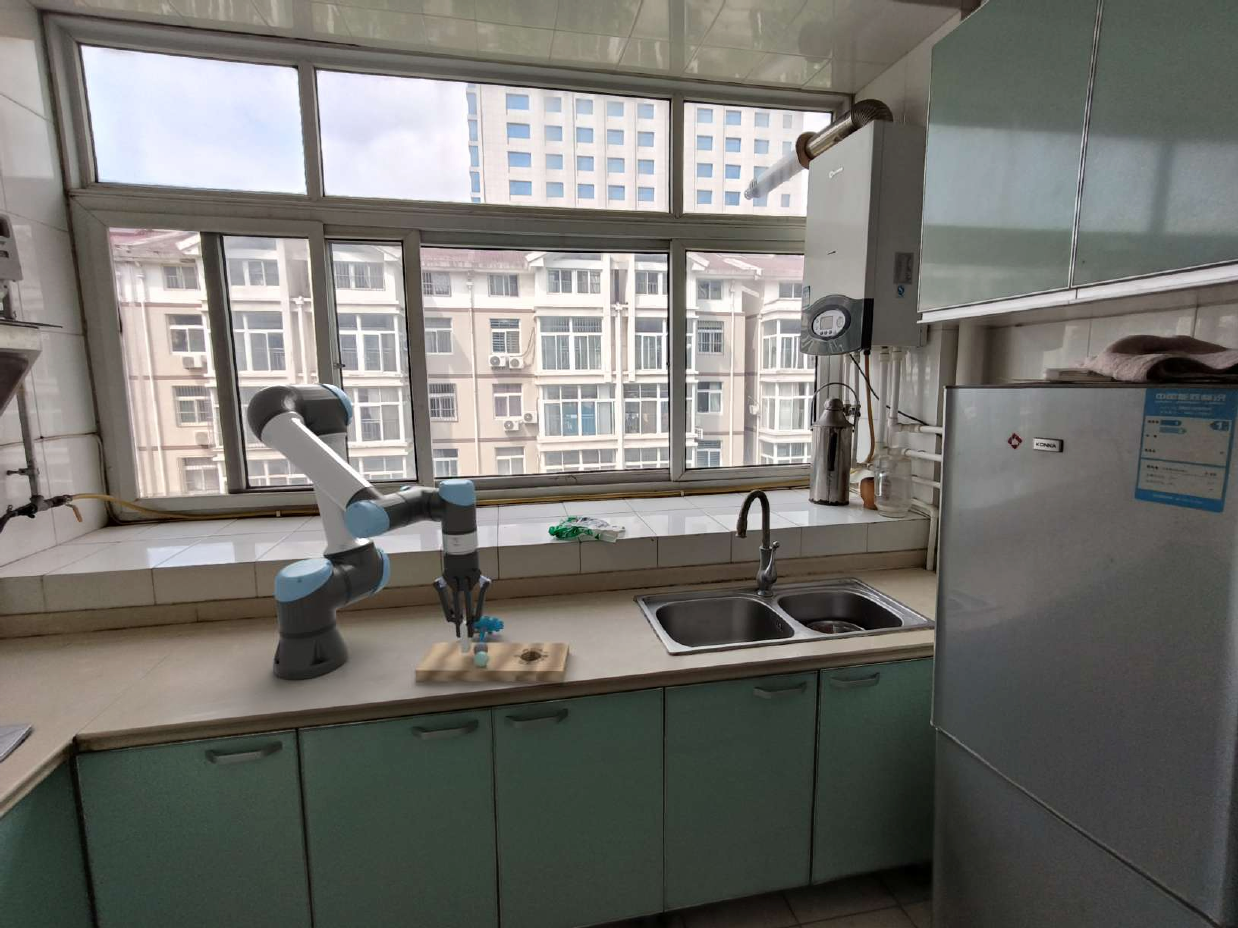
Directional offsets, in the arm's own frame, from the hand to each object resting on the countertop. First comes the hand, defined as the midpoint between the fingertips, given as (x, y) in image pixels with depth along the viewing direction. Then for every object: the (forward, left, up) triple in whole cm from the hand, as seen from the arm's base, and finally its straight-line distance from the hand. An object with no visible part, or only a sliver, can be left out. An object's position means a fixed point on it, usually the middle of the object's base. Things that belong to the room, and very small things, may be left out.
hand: (466, 650), depth 130 cm
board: (+7, 0, -4) cm, 8 cm away
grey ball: (+3, 0, 0) cm, 3 cm away
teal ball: (+5, -4, 0) cm, 6 cm away
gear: (0, +14, -4) cm, 15 cm away
